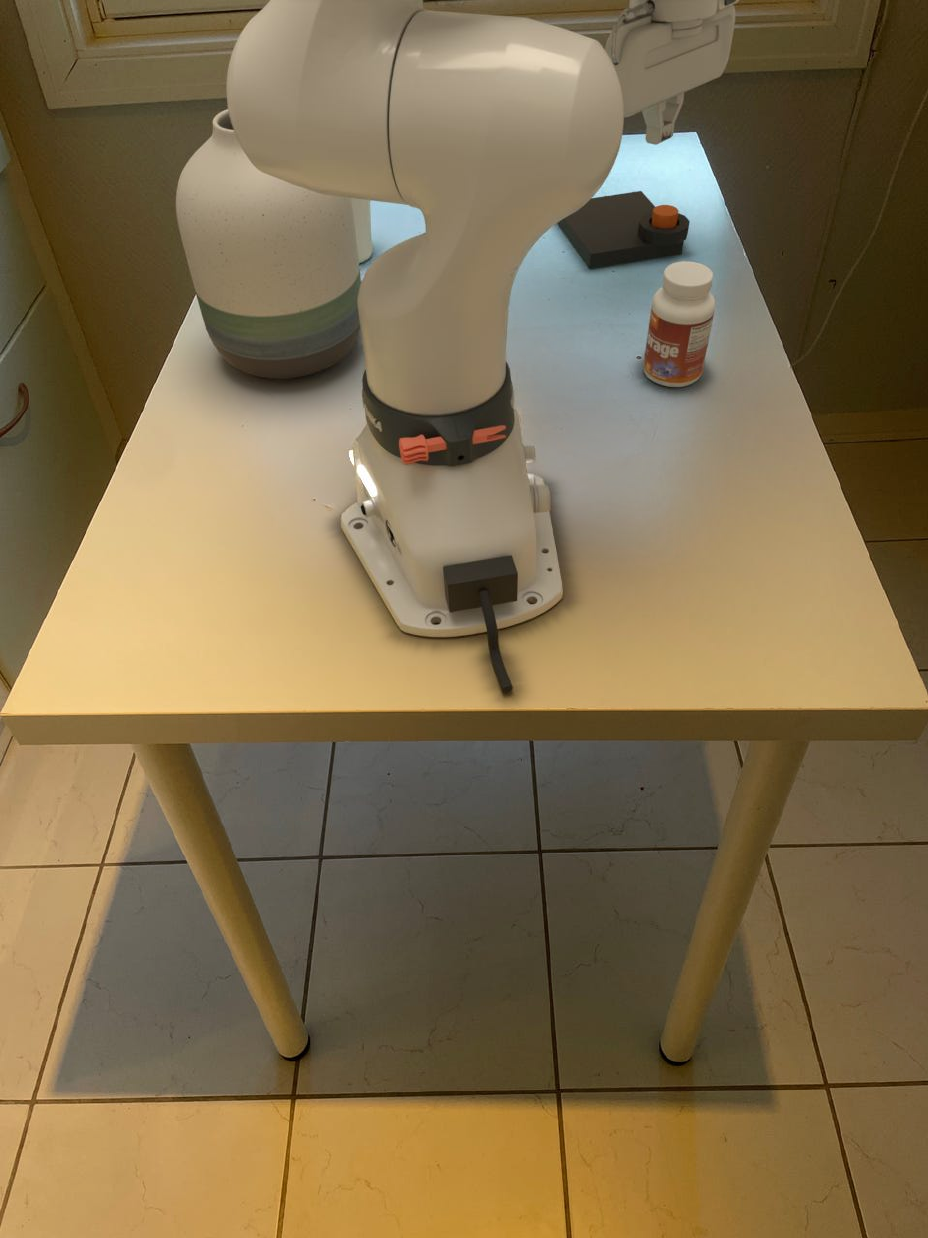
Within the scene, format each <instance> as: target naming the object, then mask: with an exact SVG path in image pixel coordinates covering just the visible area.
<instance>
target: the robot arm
mask: <svg viewBox="0 0 928 1238" xmlns="http://www.w3.org/2000/svg"><path fill="white" fill-rule="evenodd" d="M739 1H740V0H629V3H628V7H627V8H625V9H623V10H622V11H621V12H620V15H619V17H618V19H617V21H616V23H615V25H613V26H612V29H611V32H610V34H609V35H608V38H607V40H606V44H605V47H604V46H603V45H602V44H601V42H599V40H597V39H595V38H592V37H589V36H586V35H583V34H581V33H577V32H575V31H571V30H568V29H566V28H563V27H560V26H556V25H553V24H550V23H546V22H543V21H539V20H536V19H533V18H529V17H523V16H511V15H510V16H509V15H495V14H482V13H468V12H456V11H455V12H454V11H441V10H440V11H438V10H428V9H427V8H425V7H424V0H269V1H268V2H267V3H266V4H265V5H264V7H263V8H261V9H260V10H259V12H258V13H256V14H255V15H254V16H253V17H252V18H251V19H250V20H249V21H248V23H247V24H246V25H245V27H243V29H242V31H241V32H240V34H239V36H238V38H237V40H236V42H235V44H234V45H233V46H234V47H233V48H232V52H231V55H230V59H229V62H228V67H227V72H226V82H225V83H226V86H225V88H226V89H225V90H226V102H227V103H226V104H227V105H226V106H227V109H228V111H229V116H230V120H231V123H232V127H233V130H234V133H235V135H236V137H237V139H238V142H239V144H240V146H241V147H242V149H243V151H244V153H245V154H246V156H247V157H248V159H249V160H250V162H251V163H252V164H253V165H254V166H255V167H256V168H257V169H258V170H260V171H261V172H263V173H265V174H268V175H270V176H273V177H275V178H278V179H281V180H283V181H286V182H288V183H291V184H293V185H296V186H299V187H302V188H305V189H308V190H311V191H314V192H317V193H320V194H323V195H331V196H339V197H348V198H356V199H364V200H370V201H372V202H381V203H389V204H397V205H404V206H409V207H411V208H414V209H418V210H419V211H421V214H422V216H423V220H424V226H425V228H424V229H425V232H422V233H420V234H417V235H415V236H412V237H410V238H408V239H405V240H403V241H401V242H399V243H397V244H395V245H393V246H392V247H390V248H389V249H387V250H386V251H384V252H382V253H381V254H380V255H379V256H377V257H376V259H374V260H373V262H371V264H370V265H369V266H368V268H367V270H366V271H365V273H364V274H363V277H362V278H361V285H360V288H359V293H358V299H357V305H358V313H359V321H360V335H361V344H362V351H363V359H364V367H365V369H364V371H363V372H362V373H363V374H362V379H361V385H362V389H361V400H362V406H363V409H364V413H365V420H366V423H365V426H364V427H363V429H362V431H361V432H360V434H359V435H358V436H357V437H356V438H355V440H354V442H353V443H352V444H351V450H349V452H348V453H349V458H350V461H351V463H352V465H353V471H354V472H353V473H354V479H355V480H354V481H355V488H356V489H355V490H356V498H357V499H356V501H355V502H353V503H352V504H351V505H349V506H348V507H347V508H346V509H345V510H344V511H343V512H342V513H341V515H340V527H341V530H342V532H343V535H344V536H345V538H346V539H347V541H348V542H349V544H350V546H351V548H352V549H353V551H354V553H355V554H356V556H357V558H358V560H359V561H360V563H361V565H362V567H363V568H364V570H365V572H366V573H367V575H368V577H369V579H370V581H371V582H372V584H373V585H374V587H375V589H376V591H377V592H378V594H379V596H380V598H381V600H382V601H383V603H384V605H385V606H386V608H387V610H388V612H389V613H390V615H391V617H392V619H393V620H394V622H395V623H396V626H397V627H398V628H399V629H400V630H401V631H402V632H403V633H406V634H410V635H415V636H418V637H419V636H420V637H427V638H454V637H455V638H456V637H463V636H471V635H478V634H482V633H486V635H487V636H486V637H487V646H488V652H489V657H490V661H491V664H492V668H493V670H494V673H495V675H496V677H497V681H498V682H499V686H500V688H501V691H502V693H504V694H508V693H510V692H512V691H513V689H514V687H513V684H512V681H511V678H510V676H509V674H508V671H507V669H506V666H505V664H504V661H503V657H502V652H501V650H500V649H501V648H500V643H499V631H498V630H500V629H504V628H509V627H511V626H515V625H518V624H522V623H524V622H526V621H530V620H532V619H534V618H536V617H538V616H540V615H542V614H544V613H546V612H547V611H548V610H550V609H551V608H553V607H554V606H556V605H557V604H558V603H559V602H560V601H561V600H562V599H563V596H564V589H563V579H562V574H561V568H560V564H559V559H558V558H559V557H558V552H557V547H556V540H555V536H554V535H555V534H554V530H553V526H552V518H551V512H550V511H551V508H552V507H551V505H552V503H551V502H552V500H551V499H552V498H551V491H550V486H549V484H546V483H545V481H544V479H543V477H541V476H539V475H537V474H535V473H532V472H528V467H527V463H528V464H529V463H533V462H534V463H535V462H536V460H537V456H536V453H537V452H536V447H535V445H525V444H524V441H523V436H522V426H523V425H522V423H523V414H522V413H521V412H519V411H518V410H517V409H515V407H514V404H515V394H514V385H513V380H512V377H511V376H512V375H511V368H510V366H509V363H508V361H507V340H508V339H507V337H508V336H507V335H508V323H509V311H510V302H511V294H512V289H513V285H514V282H515V279H516V277H517V274H518V272H519V270H520V267H521V266H522V264H523V262H524V260H525V259H526V256H527V255H528V254H529V252H530V251H531V250H532V248H533V247H534V245H536V243H537V242H538V241H539V240H540V239H541V237H542V236H543V235H545V234H546V233H547V232H548V231H549V230H550V229H551V228H553V227H554V226H555V225H557V223H558V222H559V221H561V220H562V219H564V218H565V217H567V216H569V215H571V214H573V213H574V212H576V211H578V210H579V209H580V208H581V207H583V206H584V205H585V204H586V203H587V202H588V201H589V200H590V199H591V198H594V196H595V195H596V194H597V193H598V191H599V190H600V189H601V188H602V186H603V185H604V183H605V182H606V180H607V179H608V177H609V175H610V173H611V172H612V169H613V167H614V165H615V162H616V160H617V158H618V154H619V151H620V148H621V145H622V139H623V134H624V123H625V118H629V117H632V116H634V115H636V114H638V113H642V116H643V120H644V124H645V126H646V129H645V142H646V143H647V144H650V145H654V146H657V145H659V144H661V143H663V142H665V141H667V140H670V139H671V138H673V136H674V132H675V130H674V129H675V123H676V121H677V118H678V116H679V114H680V111H681V109H682V106H683V104H684V99H685V93H686V92H688V91H691V90H693V89H696V88H697V87H700V86H702V85H705V84H706V83H709V82H710V81H711V82H712V81H714V80H716V79H719V78H720V77H721V76H722V75H723V73H724V71H725V69H726V67H727V65H728V63H729V58H730V53H731V49H732V42H733V36H734V31H735V24H736V8H735V6H734V5H736V4H737V3H738V2H739Z"/></svg>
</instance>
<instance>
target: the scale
mask: <svg viewBox="0 0 928 1238" xmlns="http://www.w3.org/2000/svg"><path fill="white" fill-rule="evenodd" d="M655 207H656V205H654V204H653V203H652V201H651V200H650V199H649V198H648V197H647V195H646V194H645V193H644V192H643V191H642V190H637V191H631V192H625V193H617V194H610V195H604V196H598V197H592V198H591V199H590V200H589V201H588V202H587V203H586V204H585V205H584V206H583V207H581V208H580V209H579V210H578V211H576V212H574V213H573V214H571V215H569V216H567V217H565V218H564V219H562V220H561V221H559V222H558V223H556V225H558V226H559V228H560V230H561V231H562V232H563V234H564V235H565V237H566V239H568V241H569V243H570V244H571V245H572V246H573V248H574V249H575V251H576V253H577V254H578V255H579V257H580V258H581V260H582V261H583V262H584V263H585V265H586V266H587V268H588V269H589V270H592V269H598V268H604V267H611V266H616V265H617V266H618V265H622V264H629V263H636V262H642V261H648V260H654V259H655V260H656V259H661V258H667V257H673V256H680V255H682V254H683V250H684V244H685V241H686V240H687V237H688V234H689V227H690V221H691V220H690V219H688V218H687V216H686V215H685V214H682V213H680V212H678V218H677V225H676V227H674V228H668V229H664V228H657V227H654V226H652V224H651V223H652V215H653V209H654V208H655Z"/></svg>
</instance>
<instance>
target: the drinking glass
mask: <svg viewBox="0 0 928 1238" xmlns="http://www.w3.org/2000/svg"><path fill="white" fill-rule="evenodd" d="M351 202H352V209H353V216H354V224H355V233H356V241H357V250H358V258H359V264H361V263H364V262H365V261H368V260H369V258H370V257H371V256H372V255H373V240H372V213H371V211H372V210H371V208H372V207H371V200H364V199H356V198H351Z"/></svg>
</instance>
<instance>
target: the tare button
mask: <svg viewBox="0 0 928 1238" xmlns="http://www.w3.org/2000/svg"><path fill="white" fill-rule="evenodd" d="M678 213H679V208H677V207H676V206H674V205H670V204H660V205H659V204H658V205H655V208H654V209H653V215H652V223H651V224H652V226H654V227H657V228H664V229H668V228H674V227H676V225H677V218H678Z"/></svg>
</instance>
